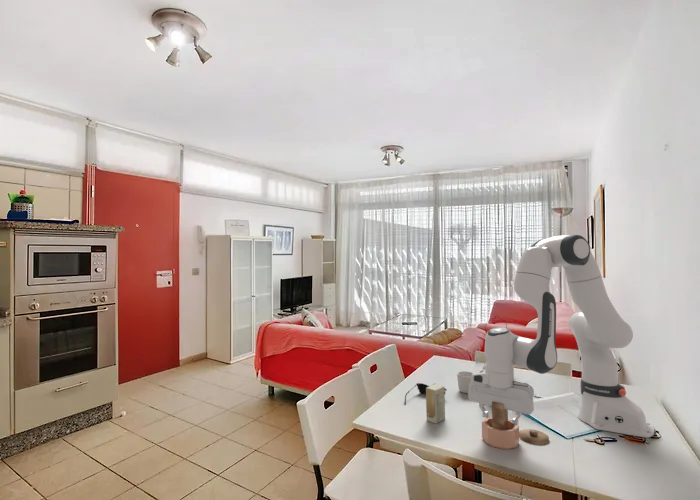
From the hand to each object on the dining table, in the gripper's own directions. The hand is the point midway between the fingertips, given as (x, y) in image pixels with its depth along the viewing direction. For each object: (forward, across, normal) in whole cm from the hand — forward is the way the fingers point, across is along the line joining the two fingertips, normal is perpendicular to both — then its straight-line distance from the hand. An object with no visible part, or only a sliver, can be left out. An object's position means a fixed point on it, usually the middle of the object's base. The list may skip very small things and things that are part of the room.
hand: (500, 420), depth 124 cm
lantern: (+7, +23, -71) cm, 75 cm away
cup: (+7, +25, -38) cm, 46 cm away
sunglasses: (+7, +36, -16) cm, 40 cm away
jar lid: (+7, -8, -9) cm, 14 cm away
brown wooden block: (+6, 0, 0) cm, 6 cm away
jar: (+7, 0, 0) cm, 7 cm away
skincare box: (+7, +24, -2) cm, 25 cm away
